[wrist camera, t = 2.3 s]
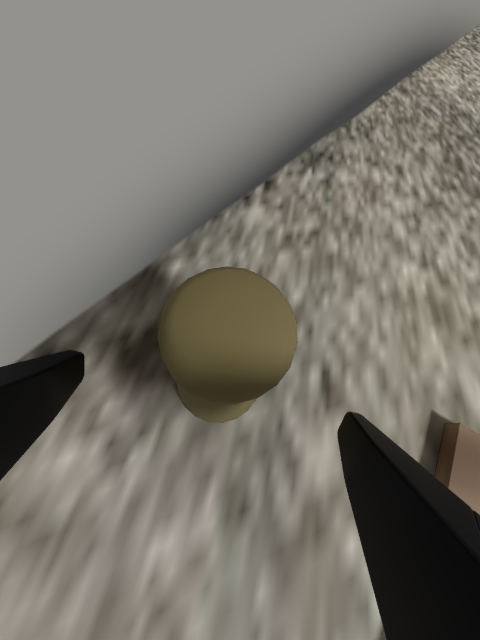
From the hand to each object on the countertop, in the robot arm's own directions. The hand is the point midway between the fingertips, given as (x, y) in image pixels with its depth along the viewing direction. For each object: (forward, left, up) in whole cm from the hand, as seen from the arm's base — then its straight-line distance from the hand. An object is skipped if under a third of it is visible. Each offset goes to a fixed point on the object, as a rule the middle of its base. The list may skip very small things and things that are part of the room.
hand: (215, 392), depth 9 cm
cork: (+2, +1, -10) cm, 10 cm away
